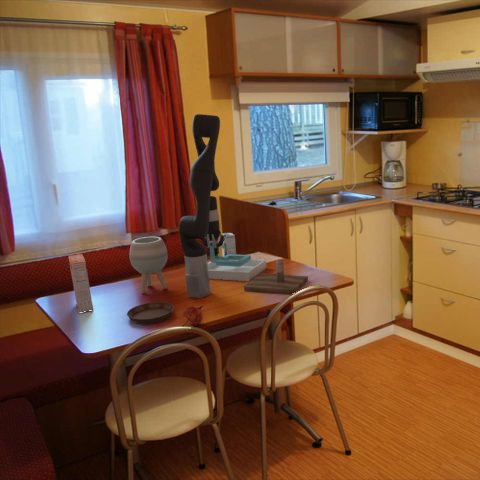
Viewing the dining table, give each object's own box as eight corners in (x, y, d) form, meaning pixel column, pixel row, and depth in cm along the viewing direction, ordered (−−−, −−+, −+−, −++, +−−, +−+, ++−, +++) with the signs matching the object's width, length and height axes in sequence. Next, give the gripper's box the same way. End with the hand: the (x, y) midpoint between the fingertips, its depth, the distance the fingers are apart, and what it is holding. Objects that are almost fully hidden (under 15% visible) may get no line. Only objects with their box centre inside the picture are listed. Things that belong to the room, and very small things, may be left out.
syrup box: (222, 262, 272) (220, 233, 269) (233, 260, 274) (231, 232, 270) (225, 264, 267) (223, 236, 264) (237, 262, 269) (234, 234, 265)
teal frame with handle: (240, 266, 243) (238, 249, 241) (206, 264, 251) (205, 248, 249) (251, 259, 254) (249, 242, 252) (218, 257, 261) (217, 241, 259)
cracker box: (75, 303, 227) (67, 255, 222) (90, 301, 229) (83, 253, 224) (78, 314, 214) (70, 263, 209) (93, 311, 216) (86, 260, 211)
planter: (134, 297, 229) (127, 246, 223) (133, 286, 244) (127, 238, 239) (172, 292, 231) (166, 241, 226) (169, 281, 247) (164, 233, 242)
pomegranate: (189, 336, 191) (210, 316, 191) (174, 321, 189) (195, 301, 190) (189, 330, 198) (208, 311, 198) (175, 316, 197) (195, 297, 197)
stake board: (294, 294, 217) (292, 268, 215) (244, 290, 227) (242, 265, 224) (308, 280, 233) (306, 256, 230) (260, 277, 242) (259, 253, 240)
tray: (249, 281, 238) (248, 272, 237) (197, 277, 249) (196, 269, 248) (266, 268, 256) (265, 260, 255) (217, 265, 267) (216, 257, 266)
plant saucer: (118, 319, 206) (117, 312, 205) (156, 305, 218) (155, 298, 217) (146, 330, 194) (145, 322, 193) (184, 314, 206) (183, 307, 205)
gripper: (193, 220, 250) (197, 256, 254) (220, 221, 244) (223, 258, 248) (201, 217, 257) (205, 252, 261) (227, 217, 251) (230, 253, 255)
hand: (214, 255), depth 254 cm, fingers closed on teal frame with handle
